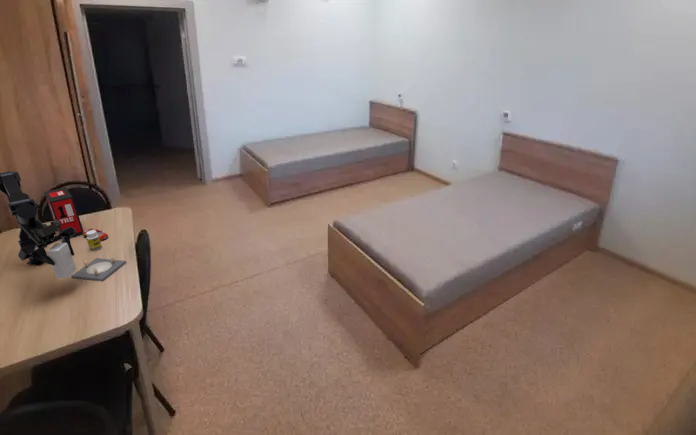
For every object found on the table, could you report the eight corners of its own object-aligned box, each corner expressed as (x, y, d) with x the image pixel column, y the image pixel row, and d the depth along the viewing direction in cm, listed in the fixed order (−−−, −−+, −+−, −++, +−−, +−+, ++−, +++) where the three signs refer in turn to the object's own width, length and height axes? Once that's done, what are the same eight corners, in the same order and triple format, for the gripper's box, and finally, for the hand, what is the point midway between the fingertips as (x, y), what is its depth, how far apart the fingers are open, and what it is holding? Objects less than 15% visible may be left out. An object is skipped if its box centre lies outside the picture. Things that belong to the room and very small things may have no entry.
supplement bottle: (96, 251, 179) (91, 235, 176) (87, 250, 180) (82, 234, 176) (104, 246, 183) (99, 230, 180) (95, 245, 184) (90, 229, 181)
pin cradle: (71, 277, 160) (68, 269, 158) (97, 260, 172) (94, 252, 171) (102, 281, 158) (100, 272, 156) (126, 262, 170) (124, 254, 169)
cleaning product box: (84, 234, 194) (72, 196, 186) (63, 240, 189) (49, 201, 180) (77, 223, 205) (65, 187, 197) (56, 229, 200) (43, 192, 191)
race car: (110, 238, 192) (108, 230, 190) (100, 243, 187) (98, 235, 185) (92, 232, 197) (90, 225, 195) (82, 237, 192) (79, 230, 190)
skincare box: (65, 269, 153) (55, 242, 148) (77, 269, 153) (67, 242, 148) (56, 278, 148) (46, 251, 143) (68, 278, 148) (58, 250, 143)
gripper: (11, 227, 134) (44, 262, 135) (65, 207, 150) (94, 238, 151) (5, 243, 140) (36, 276, 141) (57, 222, 156) (85, 252, 157)
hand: (64, 259), depth 147 cm, fingers closed on skincare box, 7 cm apart
